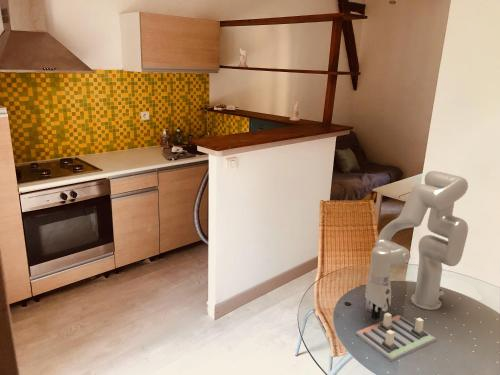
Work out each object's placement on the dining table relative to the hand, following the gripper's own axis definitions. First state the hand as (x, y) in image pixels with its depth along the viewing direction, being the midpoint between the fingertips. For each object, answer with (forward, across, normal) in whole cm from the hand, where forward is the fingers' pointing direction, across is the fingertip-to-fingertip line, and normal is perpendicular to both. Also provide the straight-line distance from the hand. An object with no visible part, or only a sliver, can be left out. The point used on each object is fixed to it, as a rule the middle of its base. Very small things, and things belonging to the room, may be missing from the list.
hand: (375, 318), depth 166 cm
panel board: (+3, -11, 0) cm, 11 cm away
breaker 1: (+1, -6, 0) cm, 6 cm away
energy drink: (+3, +8, -7) cm, 11 cm away
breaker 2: (+1, -15, +8) cm, 17 cm away
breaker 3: (+1, -14, -8) cm, 17 cm away
